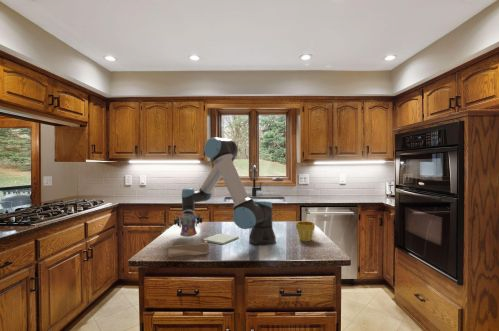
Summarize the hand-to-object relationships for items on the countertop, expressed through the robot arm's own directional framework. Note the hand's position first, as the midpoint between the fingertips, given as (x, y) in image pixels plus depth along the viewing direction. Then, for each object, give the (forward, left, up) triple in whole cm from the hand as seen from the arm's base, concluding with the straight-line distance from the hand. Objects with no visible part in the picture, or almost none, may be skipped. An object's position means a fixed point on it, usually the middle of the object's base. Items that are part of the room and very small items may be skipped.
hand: (188, 224), depth 140 cm
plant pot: (-43, -50, -14) cm, 68 cm away
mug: (+3, -4, -7) cm, 8 cm away
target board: (0, -26, -14) cm, 30 cm away
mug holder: (+3, -3, -14) cm, 15 cm away
